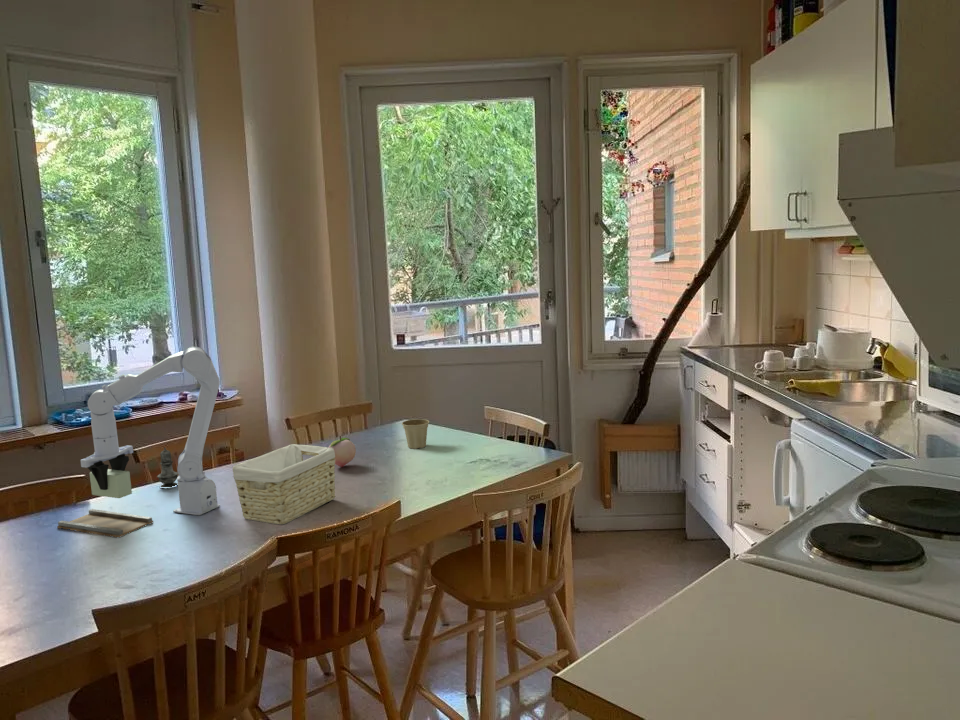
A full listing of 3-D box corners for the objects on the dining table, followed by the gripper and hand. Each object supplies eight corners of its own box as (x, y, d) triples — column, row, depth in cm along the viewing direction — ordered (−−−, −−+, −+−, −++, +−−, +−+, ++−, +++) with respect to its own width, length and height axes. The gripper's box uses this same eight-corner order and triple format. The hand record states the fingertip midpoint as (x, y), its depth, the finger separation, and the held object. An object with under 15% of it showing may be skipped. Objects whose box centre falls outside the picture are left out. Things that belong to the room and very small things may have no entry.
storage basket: (281, 528, 194) (276, 471, 192) (234, 520, 202) (228, 465, 199) (341, 499, 215) (337, 447, 212) (296, 492, 222) (292, 442, 220)
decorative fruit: (348, 471, 240) (345, 440, 239) (324, 470, 243) (322, 439, 241) (362, 463, 249) (359, 433, 247) (339, 462, 252) (337, 432, 250)
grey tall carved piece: (172, 489, 231) (167, 450, 229) (154, 489, 232) (150, 450, 230) (183, 483, 236) (179, 444, 235) (166, 483, 238) (161, 444, 236)
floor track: (153, 522, 203) (152, 517, 202) (118, 537, 193) (117, 531, 193) (94, 513, 212) (93, 508, 212) (57, 528, 202) (56, 522, 202)
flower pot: (429, 449, 262) (428, 424, 260) (401, 450, 262) (400, 425, 261) (431, 442, 271) (430, 418, 270) (404, 443, 271) (403, 419, 270)
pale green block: (132, 493, 204) (129, 471, 203) (119, 498, 200) (116, 475, 199) (105, 490, 208) (102, 468, 207) (92, 494, 204) (89, 472, 203)
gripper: (117, 428, 210) (123, 477, 212) (69, 442, 197) (76, 493, 199) (136, 430, 207) (142, 479, 209) (89, 443, 194) (95, 496, 196)
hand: (111, 486), depth 204 cm, fingers closed on pale green block, 4 cm apart
